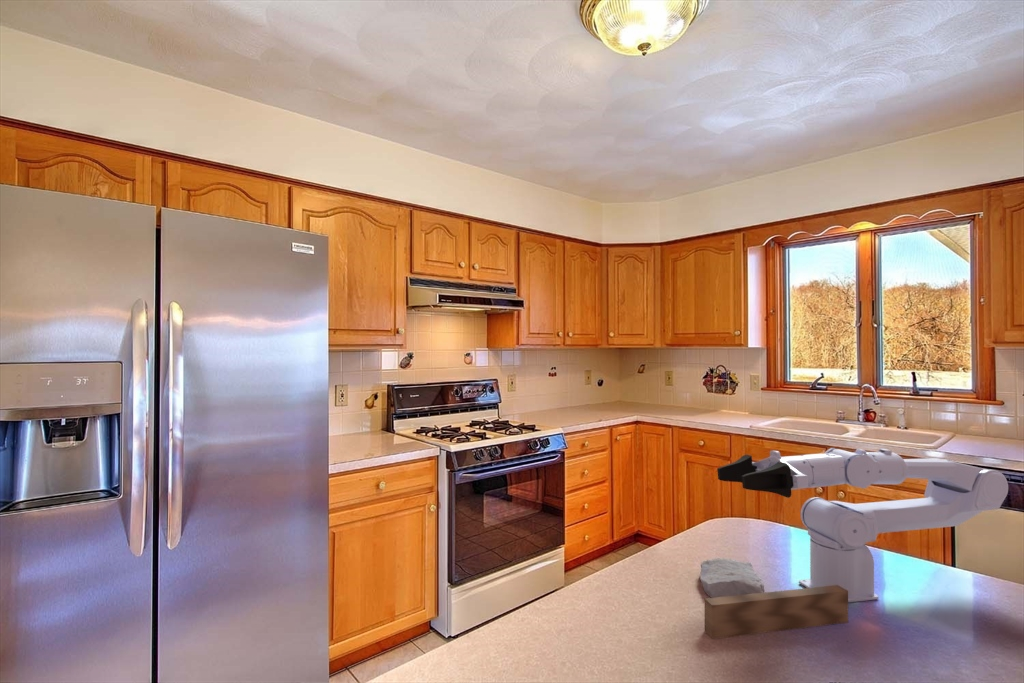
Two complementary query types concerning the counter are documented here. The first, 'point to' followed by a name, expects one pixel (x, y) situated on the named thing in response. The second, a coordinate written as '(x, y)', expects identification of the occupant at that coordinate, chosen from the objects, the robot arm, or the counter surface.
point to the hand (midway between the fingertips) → (730, 478)
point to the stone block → (729, 578)
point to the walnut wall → (775, 611)
